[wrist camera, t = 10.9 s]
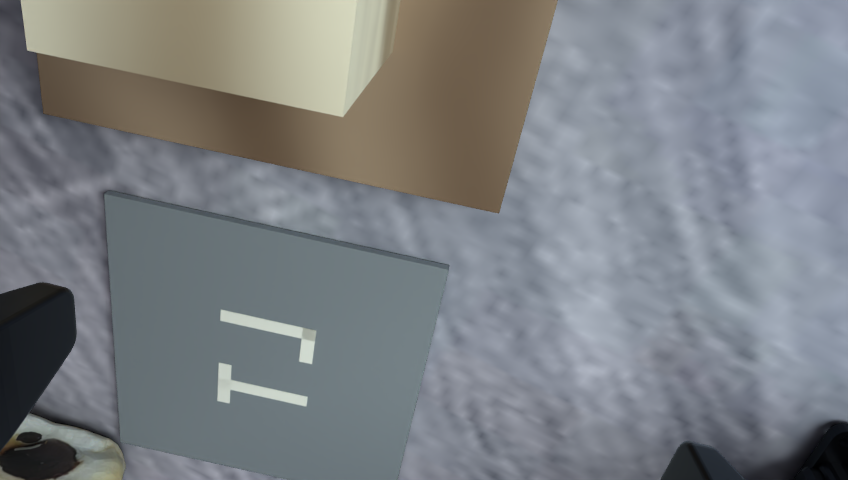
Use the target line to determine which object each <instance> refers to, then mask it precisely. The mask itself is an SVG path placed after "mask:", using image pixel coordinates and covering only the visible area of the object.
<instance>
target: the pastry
mask: <svg viewBox="0 0 848 480" xmlns="http://www.w3.org/2000/svg"><path fill="white" fill-rule="evenodd" d="M125 467H126V466H125V461H124V457H123V453H122V451H121V450H120V448H119V447H118V445H117V444H116V443H115V442H113V441H112V440H111V439H109V438H106V437H102V436H100V435H98V434H95V433H92V432H90V431H88V430H85V429H81V428H77V427H73V426H68V425H63V424H57V423H54V422H51V421H49V420H47V419H45V418H42V417H40V416H37V415H33V414H31V413H29V414H28V415H27V417H26V418H25V420H24V421H23V423H22V424H21V425H20V427H19V428H18V430H17V431H16V432H15V434H14V435H13V436H12V438H11V439H10V440H9V442H8V443H7V444H6V445H5V447H4V448H3V449H2V450H1V452H0V480H122V479H123V473H124V471H125Z"/></svg>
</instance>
